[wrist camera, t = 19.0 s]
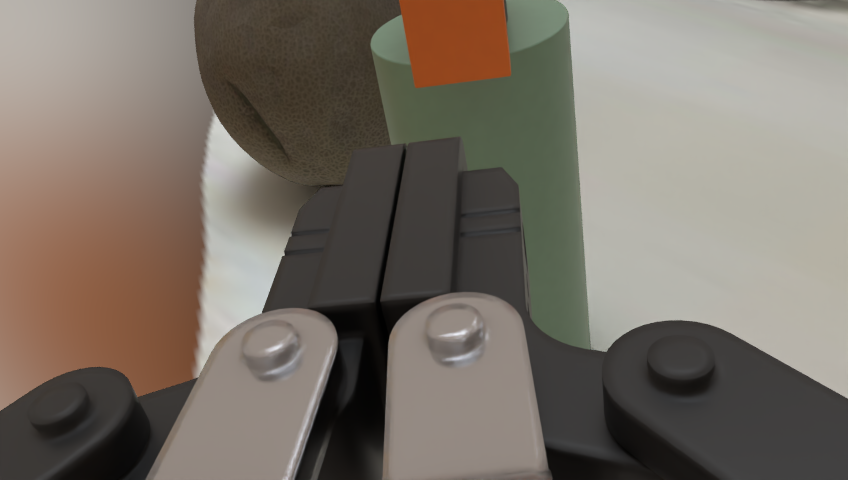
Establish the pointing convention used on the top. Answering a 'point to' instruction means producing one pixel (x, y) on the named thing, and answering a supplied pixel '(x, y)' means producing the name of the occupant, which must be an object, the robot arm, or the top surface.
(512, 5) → the spray bottle
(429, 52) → the trigger
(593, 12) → the top surface
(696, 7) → the top surface
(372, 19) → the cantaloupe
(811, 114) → the top surface
